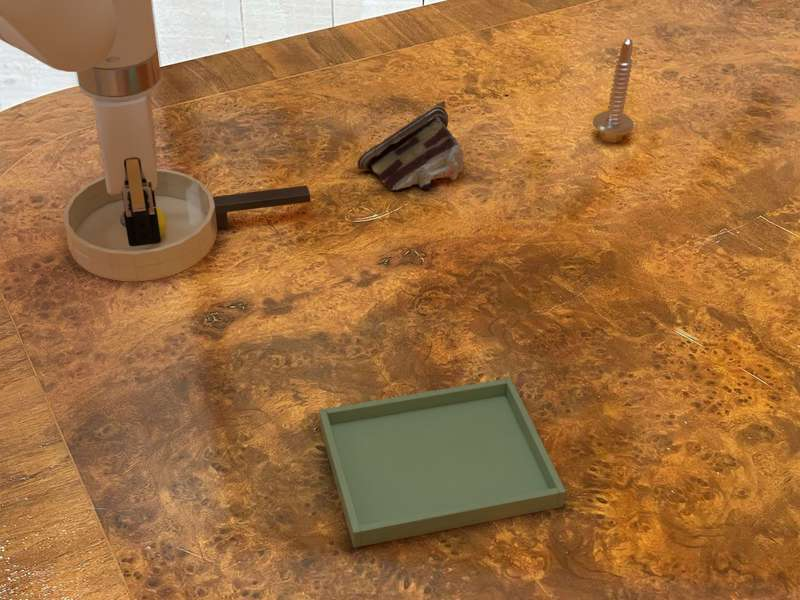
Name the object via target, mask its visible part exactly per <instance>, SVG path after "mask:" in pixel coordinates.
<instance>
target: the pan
mask: <svg viewBox="0 0 800 600" xmlns="http://www.w3.org/2000/svg"><path fill="white" fill-rule="evenodd" d="M154 195H155V202H156V208H159V209H160V210H161V211H162V212H163V213H164V215H165V216H166V218H167V228H166V230H165V233H164V234H163V235H161V236H160V237H161V242H160V243H156V244H148V245H140V246H130V245H129V242H128V236H127V230H126V226H122V225H121V223H120V217H121V215H122V214H124V212H125V208H124V202H123V196H122V190H121V193H120V194H114V195H110V194H109V193H108V192H107V188H106V182H105V176H104V175H103V176H100V177H99V178H97V179H95V180H92V181H91V182H89V183H87V184H85V185H83V186H82V187H81V188H80V189H79V190H77V191H76V192H75V193H74V194H73V195H72V196H70V198H69V200H68V201H67V203H66V205H65V207H64V210H63V226H64V232H65V236H66V240H67V246H68V251H69V252H70V254H71V256H72V258H73V259H74V261H75V262H76V263H77V264H78V265H79V266H80V267H81V268H82V269H84V270H85V271H87V272H89V273H91V274H93V275H95V276H98V277H100V278H104V279H107V280H112V281H119V282H146V281H155V280H159V279H163V278H168V277H171V276H173V275H176V274H179V273H181V272H184V271H186V270H188V269H190V268H192V267H193V266H195V265H197V263H199V262H201V261H202V260H203V259H204V258H205V257H206V256H207V255H208V254H209V252H211V250H212V249H213V247H214V245H215V243H216V239H217V235H218V234H217V233H218V230H217V222H216V212H215V204H214V200H213V197H214V196H213V193H212V191H211V190H210V189H209V188H208V187H207V186H206V185H205V184H204V183H203V181H200V180H199V179H197V178H195V177H194V176H192V175H189V174H188V173H184V172H180V171H176V170H172V169H168V168H157V187H156V188H155V189H154Z"/></svg>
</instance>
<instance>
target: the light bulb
mask: <svg viewBox="0 0 800 600" xmlns="http://www.w3.org/2000/svg"><path fill="white" fill-rule="evenodd" d="M154 208H156V207H154ZM156 209H157V216H158V223H159V230H160V236H161V235H163V234H164V233H165V230H166V228H167V218H166V216H165V215H164V213H163V212H162V211H161V210H160V209H159V208H156ZM120 223H121V225H122V226H126V225H125V219H124V214H122V215H121V217H120Z"/></svg>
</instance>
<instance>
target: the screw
mask: <svg viewBox="0 0 800 600" xmlns="http://www.w3.org/2000/svg"><path fill="white" fill-rule="evenodd" d="M633 46H634V45H633V40H632V39H631V38H629V37H628V38H625V40H624V41H623V43H622V45H621V47H620V51H619V55H618V56H617V59H618V60H616V62H615V63H616V65H615V66H614V67H615V69H614V71H613V72H614V74H613V79H612V82H613V83H612V84H611V86H612V88H611V89H610V91H611V92H610V95H609V96H610V97H609V102H608V104H609V105H608V106H607V109H608V110H605V111H602V112H599V113H597V114H596V115H594V116H593V119H592V125H593V127H594V128H595V129H596V130H597V131H598V132H599V133H598V134H599V137H600V139H601V140H602V141H603V142H605V143H606V142H607V143H610V144H611V143H612V144H616V143H618V142H620V141H622V140H623V138H624V135H627V134H630V133H631V132H632V131H633V130H634V128H635V127H634V126H635V123H634V121H633V119H632V118H630V116H628V114H625V113H624V109H625V105H626V99H627V94H628V92H627V91H628V89H629V88H628V87H629V86H630V85H629V82H630V77H631V72H632V67H633V64H632V63H633V60H632V54H633Z"/></svg>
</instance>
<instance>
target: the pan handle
mask: <svg viewBox="0 0 800 600" xmlns="http://www.w3.org/2000/svg"><path fill="white" fill-rule="evenodd" d="M213 200H214V204H215V212H216V222H217V231H220V230H227V229H229V222H228V221H229V220H228V213H233V212H240V211H247V210H248V211H249V210H257V209H265V208H273V207H281V206H288V205H289V206H290V205H298V204H306V203H310V202H311V193H310V190H309V187H308V185H298V186H290V187H281V188H274V189H265V190H257V191H247V192H239V193H232V194H224V195H216V196H215V195H214V196H213Z"/></svg>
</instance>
